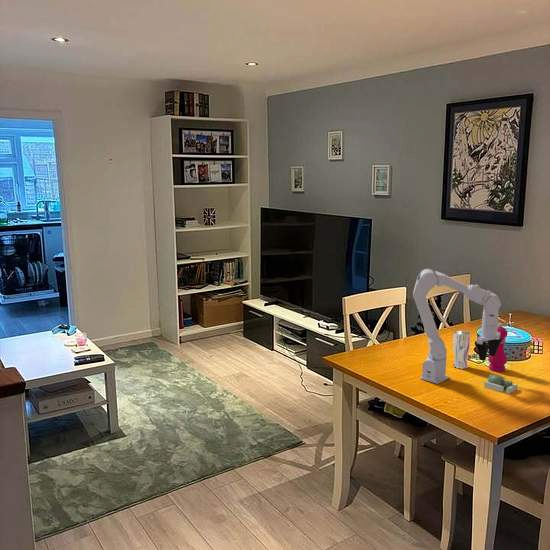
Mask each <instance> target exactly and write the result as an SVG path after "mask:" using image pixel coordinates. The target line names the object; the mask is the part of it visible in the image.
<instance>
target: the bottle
mask: <svg viewBox="0 0 550 550" xmlns="http://www.w3.org/2000/svg"><path fill="white" fill-rule="evenodd" d="M487 382H490V383H493V384H497V385H500V386H503V385H504V386H508V387H510V386H511V385H513V384H514V383H513V381H511V380H506V379H505V378H504V377H503V376H501V375H495V374H492V373H491V374H489V376H488V379H487ZM508 387H507V388H508Z"/></svg>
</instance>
